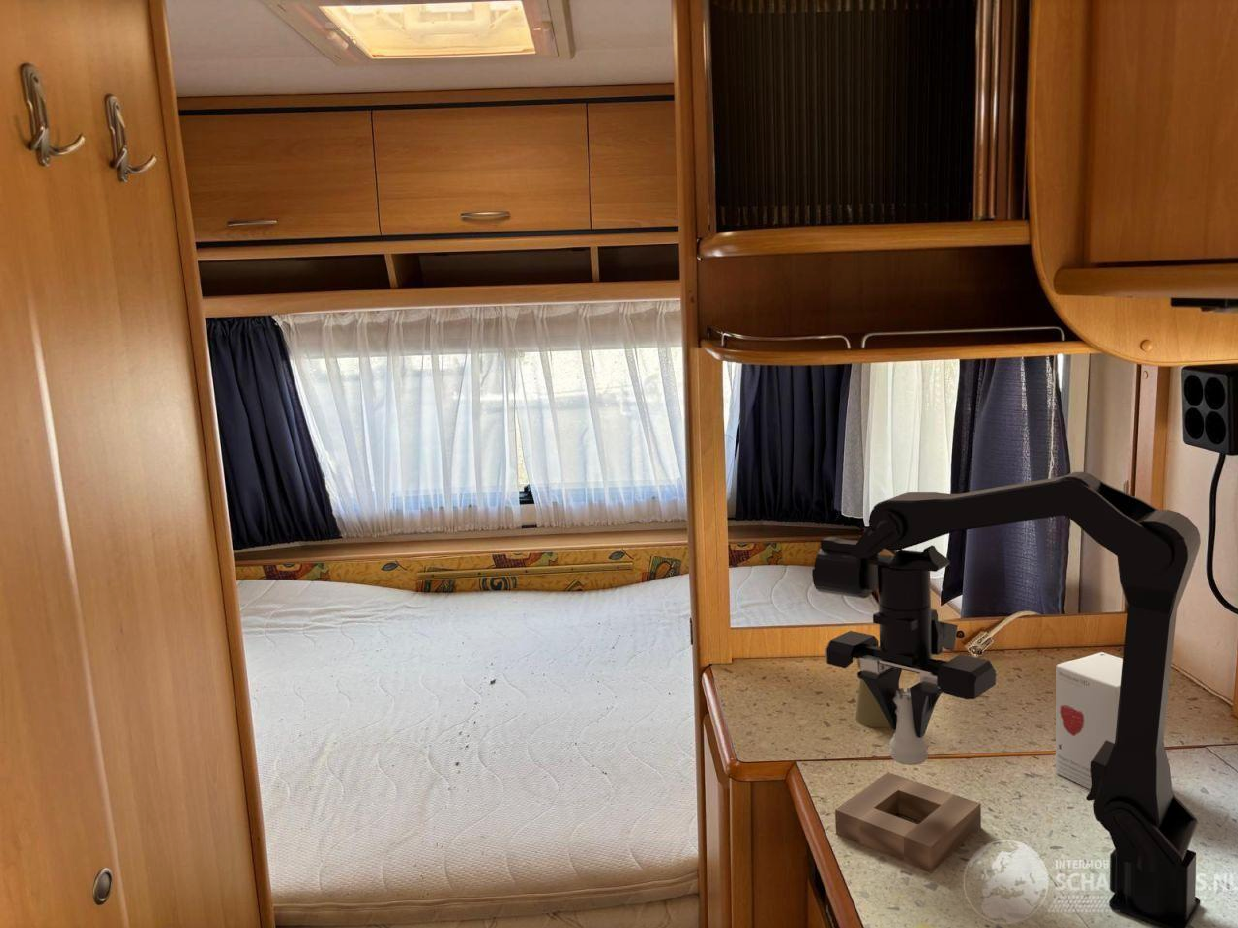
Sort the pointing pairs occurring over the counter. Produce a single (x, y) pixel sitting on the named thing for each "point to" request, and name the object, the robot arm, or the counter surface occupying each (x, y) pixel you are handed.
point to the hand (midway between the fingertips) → (908, 732)
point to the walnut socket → (912, 843)
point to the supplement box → (1085, 712)
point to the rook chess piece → (906, 733)
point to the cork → (868, 707)
